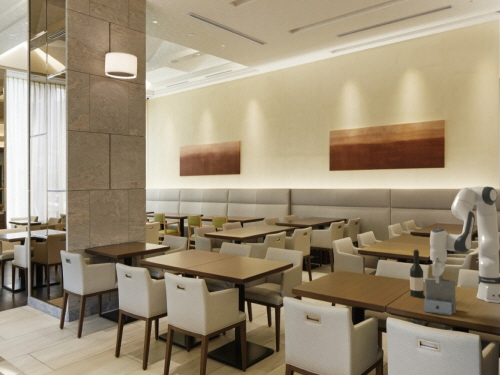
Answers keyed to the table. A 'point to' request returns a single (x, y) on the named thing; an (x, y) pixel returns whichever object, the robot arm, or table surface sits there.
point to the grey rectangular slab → (441, 290)
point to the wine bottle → (416, 277)
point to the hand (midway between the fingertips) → (438, 281)
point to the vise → (438, 306)
